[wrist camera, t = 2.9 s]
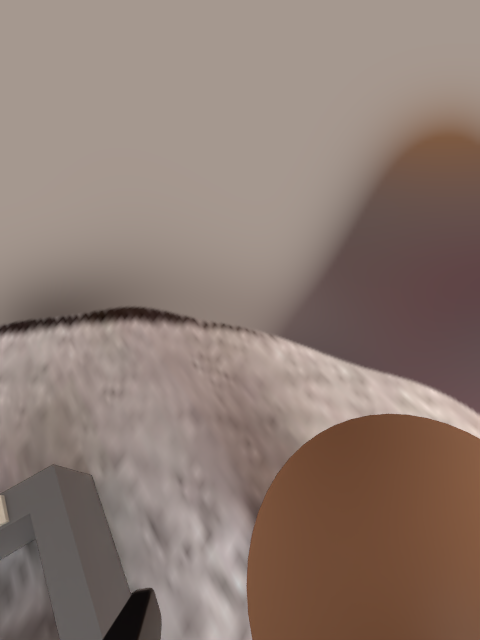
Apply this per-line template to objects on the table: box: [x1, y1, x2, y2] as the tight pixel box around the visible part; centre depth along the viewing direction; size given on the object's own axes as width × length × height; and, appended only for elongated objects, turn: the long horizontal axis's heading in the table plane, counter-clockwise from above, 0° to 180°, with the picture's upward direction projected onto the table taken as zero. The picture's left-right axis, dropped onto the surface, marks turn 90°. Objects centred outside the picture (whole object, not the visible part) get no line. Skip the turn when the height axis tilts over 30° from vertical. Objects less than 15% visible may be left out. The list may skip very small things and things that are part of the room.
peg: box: [247, 414, 480, 640], centre depth 10 cm, size 4×4×13 cm
